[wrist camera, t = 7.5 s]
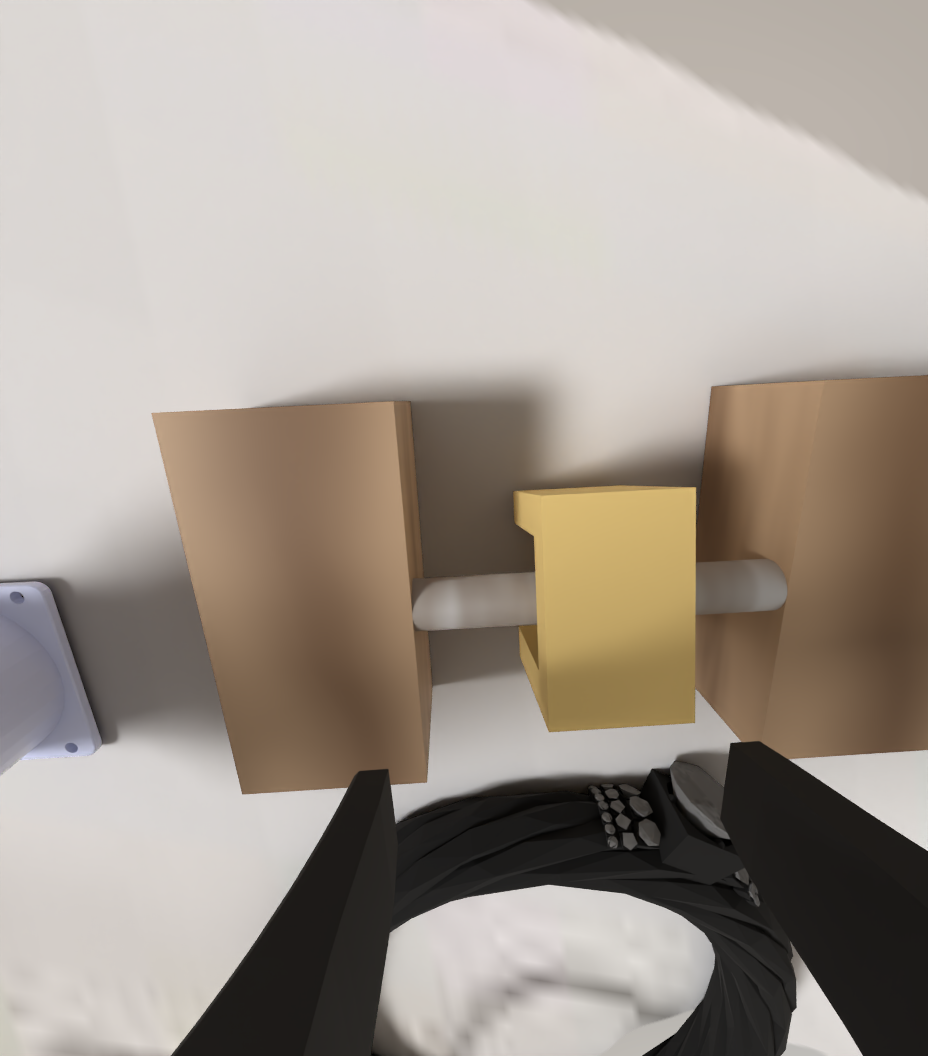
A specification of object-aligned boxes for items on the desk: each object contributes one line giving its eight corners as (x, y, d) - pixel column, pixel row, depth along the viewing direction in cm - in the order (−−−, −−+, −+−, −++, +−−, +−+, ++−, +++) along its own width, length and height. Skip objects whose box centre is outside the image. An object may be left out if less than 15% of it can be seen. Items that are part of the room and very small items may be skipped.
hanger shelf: (294, 695, 19) (242, 794, 14) (242, 409, 16) (151, 413, 11) (814, 663, 19) (934, 749, 15) (873, 378, 16) (1052, 369, 11)
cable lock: (165, 1145, 22) (435, 699, 15) (205, 1039, 26) (438, 641, 19) (613, 1246, 27) (982, 936, 20) (593, 1144, 30) (899, 852, 23)
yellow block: (519, 656, 17) (549, 732, 12) (513, 491, 16) (541, 495, 11) (621, 649, 17) (695, 722, 12) (619, 485, 16) (696, 487, 11)
